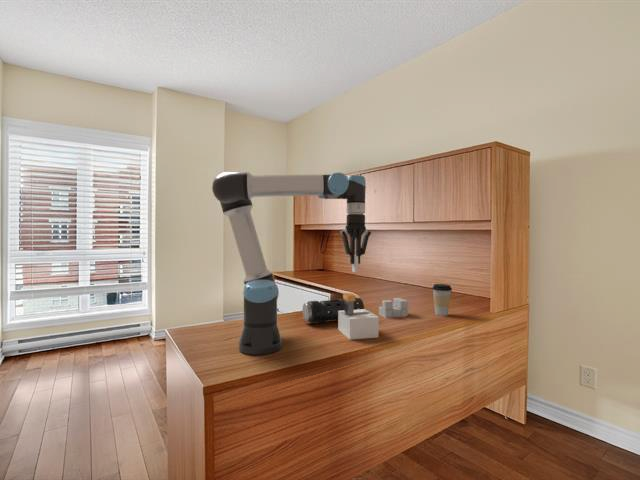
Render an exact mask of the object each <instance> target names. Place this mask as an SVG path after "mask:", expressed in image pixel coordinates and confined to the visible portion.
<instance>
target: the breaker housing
mask: <svg viewBox="0 0 640 480" xmlns="http://www.w3.org/2000/svg"><path fill="white" fill-rule="evenodd" d="M379 321H380V319H379V316H377V314H375V313H373V312H371V311H370V310H367V309H365V308H364V309H360V308H359V309H357V310H354V314H347V313H345V310H342V311H338V321H337V322H338V324H337V326H338V327H337V328H338V331H340V332H341V333H342V334H343V335H344V336H345V338H347V339H348V340H361V339H362V340H363V339H364V340H365V339H373V338H374V339H375V338H379V331H380V330H379Z"/></svg>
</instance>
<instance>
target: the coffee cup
mask: <svg viewBox="0 0 640 480" xmlns="http://www.w3.org/2000/svg"><path fill="white" fill-rule="evenodd" d="M431 288H432V291H433V293H432V296H433V305H434V313H435V315H436V316H438V315H439V316H440V317H447V316H449V308H450V301H451V291H453V288H452V286H451V285H449V284H445V283H444V284H443V283H436V284H433V286H432V287H431Z"/></svg>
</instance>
